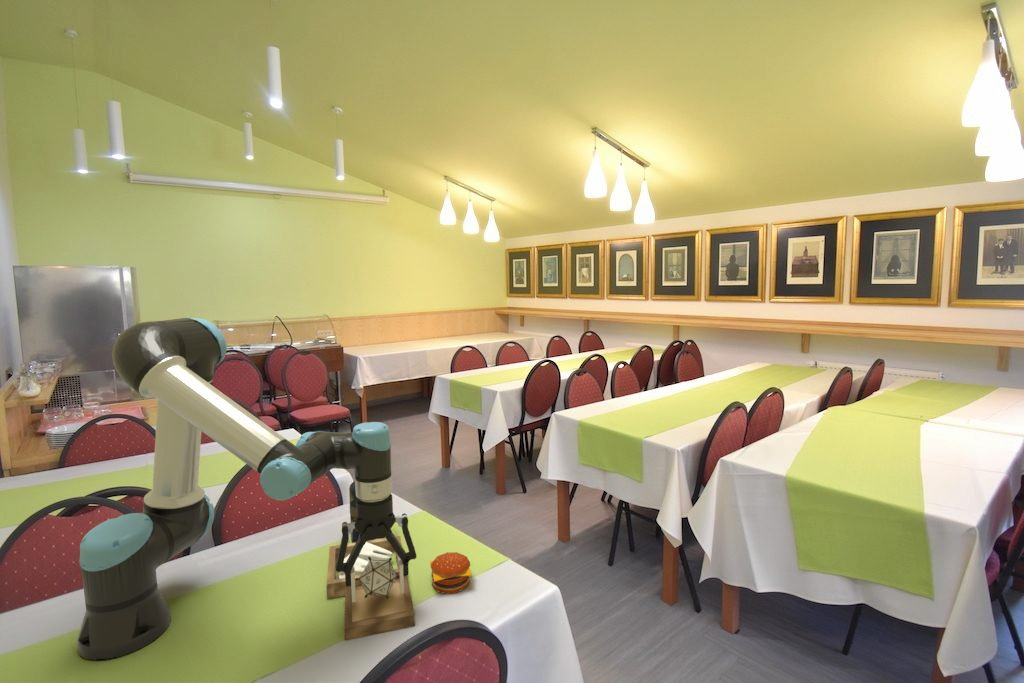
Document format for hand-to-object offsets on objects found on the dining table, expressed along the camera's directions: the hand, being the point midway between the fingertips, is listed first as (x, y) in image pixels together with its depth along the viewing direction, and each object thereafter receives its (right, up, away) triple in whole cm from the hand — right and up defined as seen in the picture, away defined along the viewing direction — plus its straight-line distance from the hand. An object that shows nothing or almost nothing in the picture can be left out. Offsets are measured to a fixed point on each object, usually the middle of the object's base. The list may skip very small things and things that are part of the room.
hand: (378, 593), depth 110 cm
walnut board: (0, -4, 0) cm, 4 cm away
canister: (-11, -1, +31) cm, 33 cm away
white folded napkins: (-7, -2, +16) cm, 18 cm away
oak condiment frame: (-7, -2, +16) cm, 18 cm away
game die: (0, 0, 0) cm, 0 cm away
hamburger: (+14, -3, +11) cm, 19 cm away
